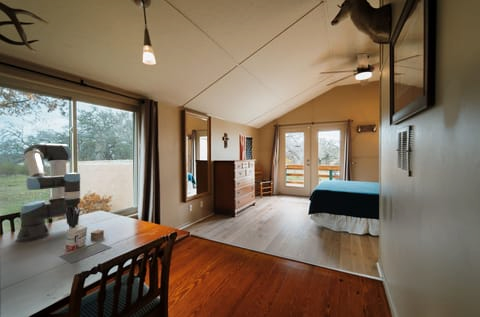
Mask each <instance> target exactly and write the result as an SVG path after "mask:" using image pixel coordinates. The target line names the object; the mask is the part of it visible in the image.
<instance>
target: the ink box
mask: <svg viewBox="0 0 480 317" xmlns="http://www.w3.org/2000/svg"><path fill="white" fill-rule="evenodd" d="M66 234H67V235H66V243H65V250H68V251H73V250H76V249H78V248H81V247H84V246H86V242H87V234H88V226H86V225H82V224H81V225H78V226H77V225H76V227H74V228H71V229H69V228H68V230H67V233H66Z"/></svg>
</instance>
